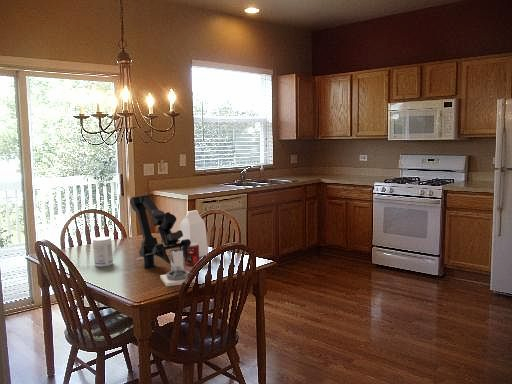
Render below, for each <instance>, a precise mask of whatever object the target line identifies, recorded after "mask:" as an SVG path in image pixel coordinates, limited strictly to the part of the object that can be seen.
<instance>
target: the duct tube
mask: <svg viewBox="0 0 512 384" xmlns="http://www.w3.org/2000/svg"><path fill="white" fill-rule="evenodd" d="M169 253H170V254H169V255H170V271H171V275H173V276H179V275H184V270H185V268H184V267H185V265H184V264H185V263H184V256H183V250H181V249H180V248H174V249H170V251H169Z"/></svg>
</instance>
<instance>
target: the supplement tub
mask: <svg viewBox="0 0 512 384" xmlns="http://www.w3.org/2000/svg"><path fill="white" fill-rule="evenodd" d="M112 245H113V244H112V238H111V236H97V237H95V238H93V239H92V246H93V247H92V248H93V260H94V265H95V266H96V267H97V268H98V267H99V268H100V267H101V268H102V267H103V268H104V267H108V266H111V265H113V263H114V259H113V246H112Z"/></svg>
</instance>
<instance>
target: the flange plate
mask: <svg viewBox="0 0 512 384" xmlns="http://www.w3.org/2000/svg"><path fill="white" fill-rule="evenodd" d="M188 273H190V272H189V271H188V270H185V269H184V275H179V276H173V275H171V270H170V271H167V272H166V274H160V275H159V276H160V277H159V278H160V280H161V281H162V283H163V284H164V285H165V286H166V287H172V286H178V285H179V286H180V285H183V284H182V283H183V281H184V280H185V278H186V277H187V275H188ZM193 282H194V280H193V281H192V283H191V284H194V283H195V282H194V283H193Z"/></svg>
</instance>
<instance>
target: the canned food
mask: <svg viewBox="0 0 512 384" xmlns="http://www.w3.org/2000/svg"><path fill="white" fill-rule="evenodd" d="M198 261H199V262H200V257H199V244H198V243H196V242H191V244H190V246H189V247H188V249H187V260H185V258H184V257H183V262H184V264H185V265H186V266H196V265H195V264H196V263H197V262H198Z"/></svg>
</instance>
